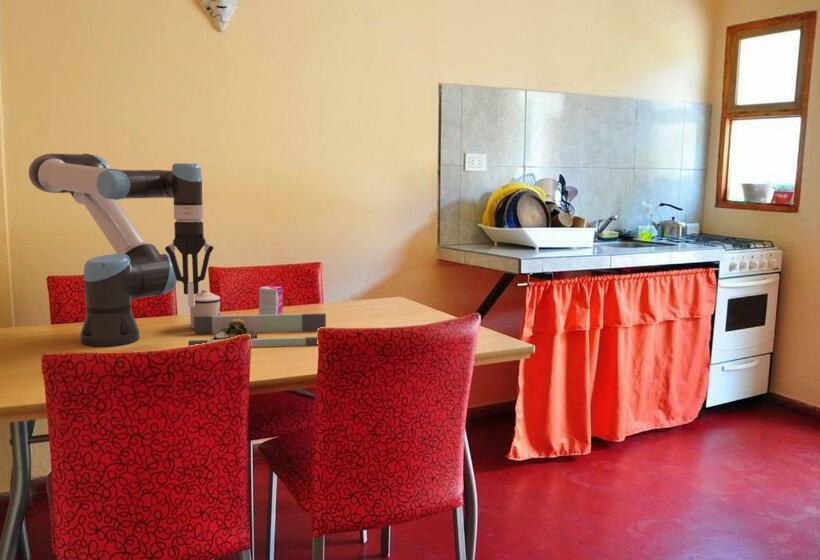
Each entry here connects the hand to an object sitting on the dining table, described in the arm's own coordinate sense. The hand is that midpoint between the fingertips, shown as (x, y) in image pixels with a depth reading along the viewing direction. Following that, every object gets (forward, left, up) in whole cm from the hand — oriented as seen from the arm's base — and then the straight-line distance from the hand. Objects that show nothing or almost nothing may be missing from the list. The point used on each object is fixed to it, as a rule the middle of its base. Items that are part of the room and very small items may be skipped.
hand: (191, 305), depth 199 cm
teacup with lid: (+2, +18, -10) cm, 21 cm away
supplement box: (+22, +20, -10) cm, 31 cm away
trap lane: (+19, 0, -10) cm, 21 cm away
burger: (+12, 0, -11) cm, 16 cm away
